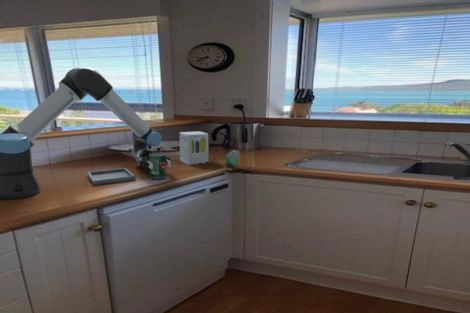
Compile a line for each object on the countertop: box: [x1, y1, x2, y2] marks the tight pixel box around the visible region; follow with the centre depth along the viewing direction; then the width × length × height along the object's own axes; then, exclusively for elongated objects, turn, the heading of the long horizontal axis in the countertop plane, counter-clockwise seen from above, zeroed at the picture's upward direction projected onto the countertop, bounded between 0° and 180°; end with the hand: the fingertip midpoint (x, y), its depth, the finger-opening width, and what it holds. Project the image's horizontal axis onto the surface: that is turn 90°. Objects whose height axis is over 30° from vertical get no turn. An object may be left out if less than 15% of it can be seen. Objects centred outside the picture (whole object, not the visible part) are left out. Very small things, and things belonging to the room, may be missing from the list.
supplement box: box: [179, 130, 209, 165], centre depth 184 cm, size 13×13×18 cm
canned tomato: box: [148, 152, 167, 179], centre depth 148 cm, size 8×8×11 cm
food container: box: [225, 149, 241, 172], centre depth 167 cm, size 12×6×10 cm, turn 168°
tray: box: [86, 167, 136, 186], centre depth 148 cm, size 18×18×2 cm
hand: (161, 165), depth 144 cm, fingers closed on canned tomato, 8 cm apart
